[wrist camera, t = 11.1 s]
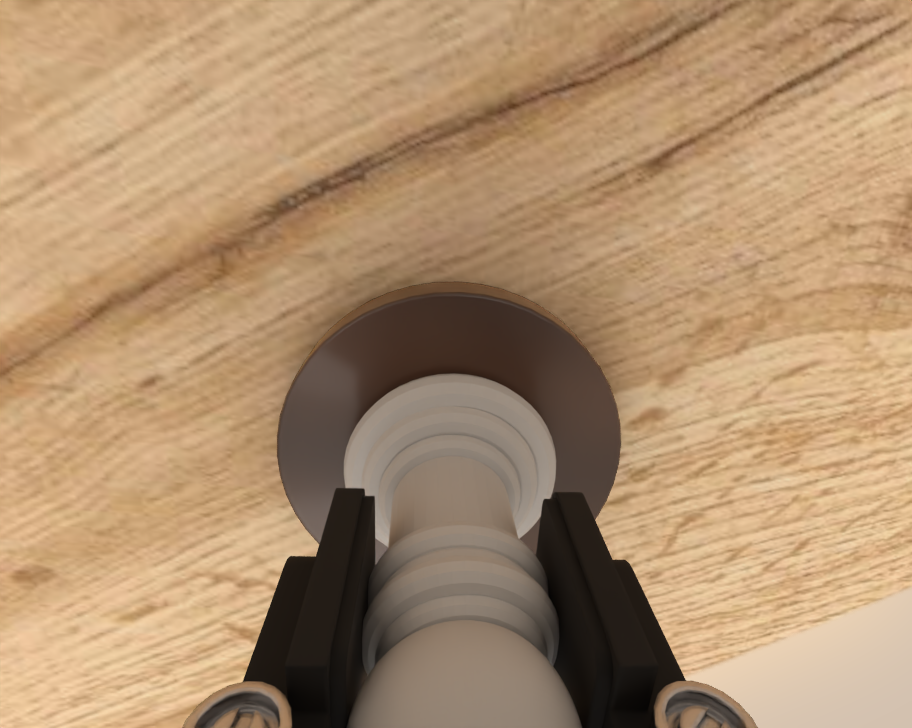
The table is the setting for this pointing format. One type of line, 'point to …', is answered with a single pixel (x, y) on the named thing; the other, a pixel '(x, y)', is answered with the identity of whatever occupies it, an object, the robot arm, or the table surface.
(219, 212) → the table surface
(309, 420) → the walnut chip
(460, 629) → the chess piece
